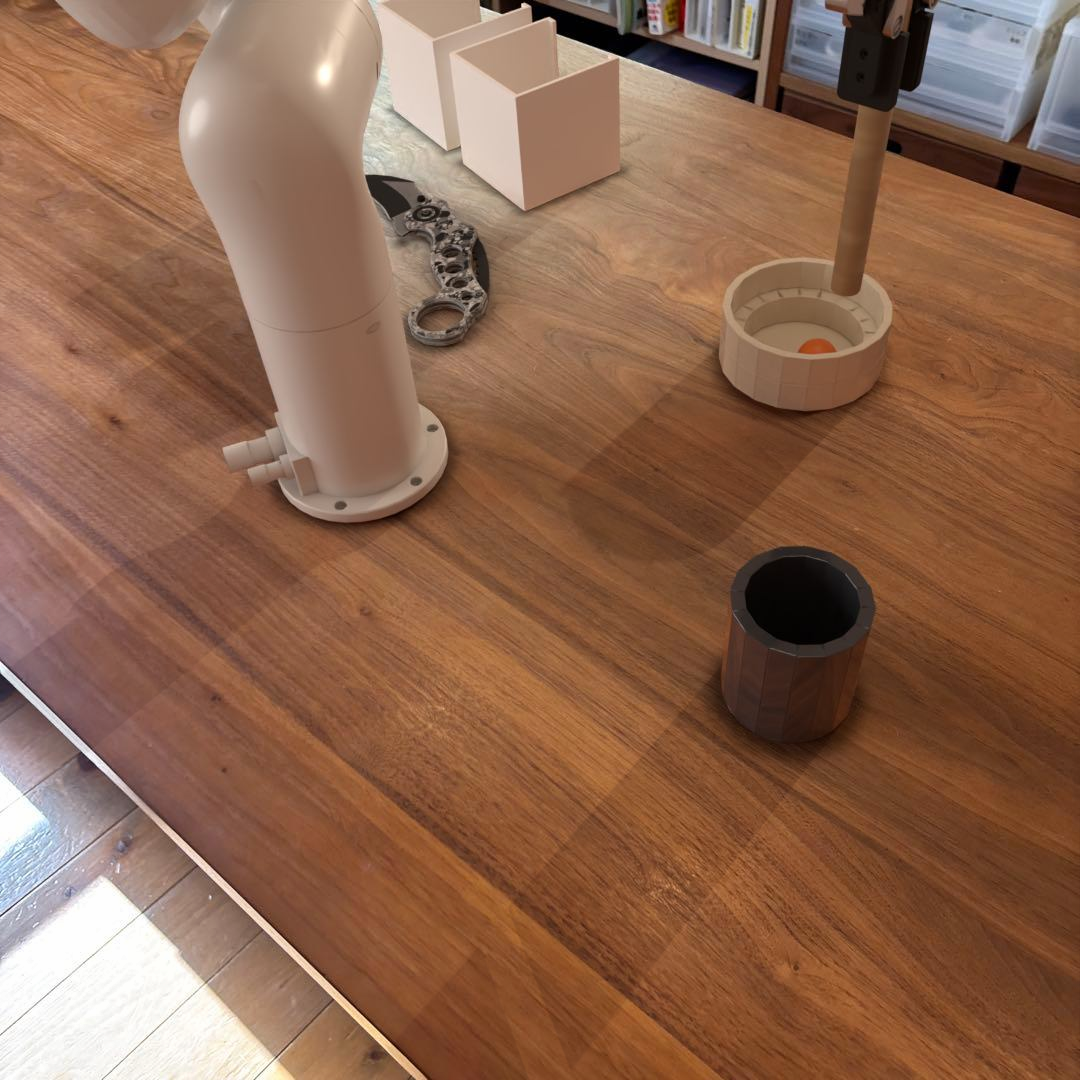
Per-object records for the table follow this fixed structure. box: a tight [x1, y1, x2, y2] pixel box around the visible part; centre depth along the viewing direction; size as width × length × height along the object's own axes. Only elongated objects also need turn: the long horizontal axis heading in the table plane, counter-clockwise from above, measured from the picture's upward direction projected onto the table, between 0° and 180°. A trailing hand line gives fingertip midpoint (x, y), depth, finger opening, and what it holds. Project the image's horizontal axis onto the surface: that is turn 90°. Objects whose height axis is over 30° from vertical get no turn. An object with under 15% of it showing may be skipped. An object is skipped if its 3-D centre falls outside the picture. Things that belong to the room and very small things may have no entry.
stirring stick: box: [831, 0, 913, 297], centre depth 61 cm, size 2×2×18 cm
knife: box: [365, 173, 491, 347], centre depth 99 cm, size 28×2×10 cm
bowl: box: [718, 256, 894, 412], centre depth 84 cm, size 12×12×6 cm
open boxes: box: [375, 0, 621, 212], centre depth 107 cm, size 25×11×11 cm, turn 34°
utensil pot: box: [720, 545, 877, 744], centre depth 63 cm, size 8×8×9 cm
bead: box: [797, 338, 836, 354], centre depth 83 cm, size 3×3×3 cm
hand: (877, 91), depth 59 cm, fingers closed on stirring stick, 1 cm apart
